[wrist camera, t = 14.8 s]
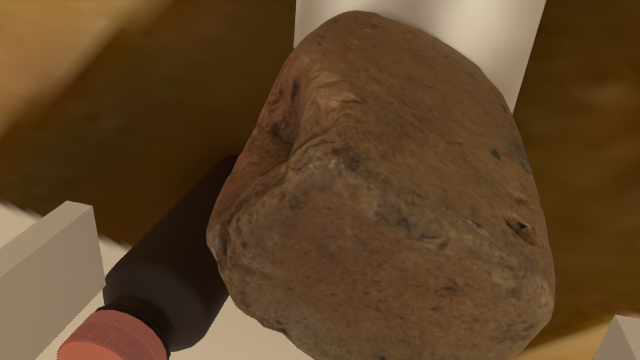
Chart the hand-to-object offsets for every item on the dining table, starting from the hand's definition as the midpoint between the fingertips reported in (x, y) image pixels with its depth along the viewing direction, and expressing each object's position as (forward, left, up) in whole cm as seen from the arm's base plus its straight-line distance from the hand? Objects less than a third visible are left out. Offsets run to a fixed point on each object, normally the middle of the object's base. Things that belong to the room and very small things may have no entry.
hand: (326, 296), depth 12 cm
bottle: (-11, -12, -24) cm, 29 cm away
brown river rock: (0, 0, -20) cm, 20 cm away
